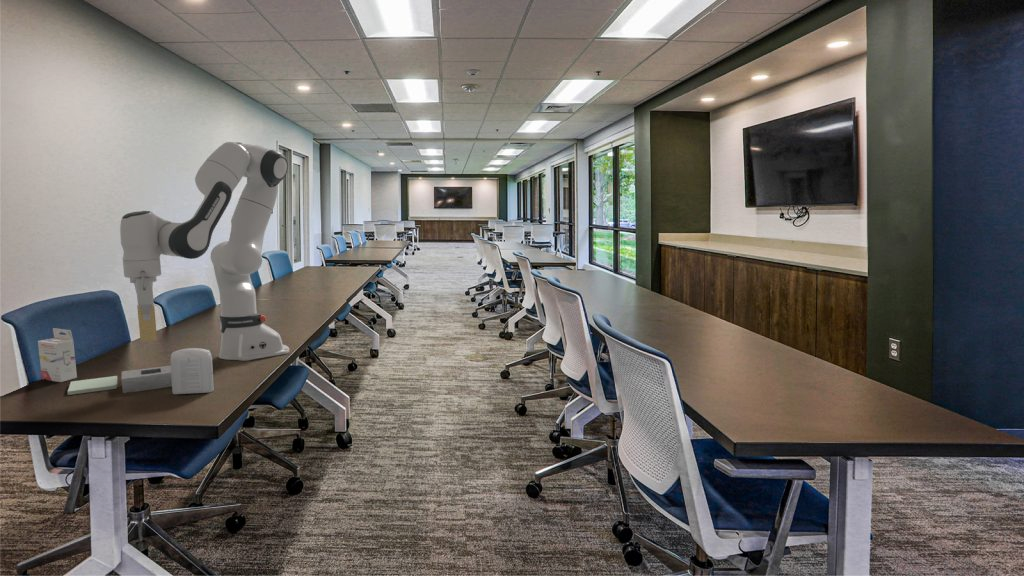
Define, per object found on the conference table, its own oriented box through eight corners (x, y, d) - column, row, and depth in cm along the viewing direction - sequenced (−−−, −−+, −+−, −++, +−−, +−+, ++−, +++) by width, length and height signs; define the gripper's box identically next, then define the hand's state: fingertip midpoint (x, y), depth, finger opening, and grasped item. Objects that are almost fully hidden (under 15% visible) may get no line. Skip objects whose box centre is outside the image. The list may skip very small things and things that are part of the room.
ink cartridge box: (40, 379, 174) (35, 330, 172) (58, 375, 178) (53, 327, 177) (60, 382, 171) (55, 332, 169) (78, 378, 176) (73, 329, 174)
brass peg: (156, 337, 170) (153, 303, 168) (157, 340, 166) (154, 305, 165) (140, 339, 168) (137, 304, 166) (140, 342, 164) (137, 306, 163)
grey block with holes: (194, 375, 178) (193, 362, 178) (196, 382, 171) (195, 369, 170) (123, 385, 169) (121, 371, 168) (122, 393, 161) (121, 378, 161)
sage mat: (117, 379, 175) (117, 375, 174) (116, 388, 165) (116, 385, 165) (71, 384, 169) (70, 381, 169) (67, 395, 160) (67, 391, 159)
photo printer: (215, 388, 165) (213, 345, 164) (211, 393, 161) (208, 349, 160) (175, 391, 163) (172, 347, 161) (170, 396, 159) (166, 351, 157)
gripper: (156, 272, 157) (161, 323, 159) (154, 266, 174) (158, 312, 176) (128, 274, 154) (133, 326, 156) (129, 267, 171) (133, 314, 173)
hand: (147, 318), depth 166 cm, fingers closed on brass peg, 4 cm apart
